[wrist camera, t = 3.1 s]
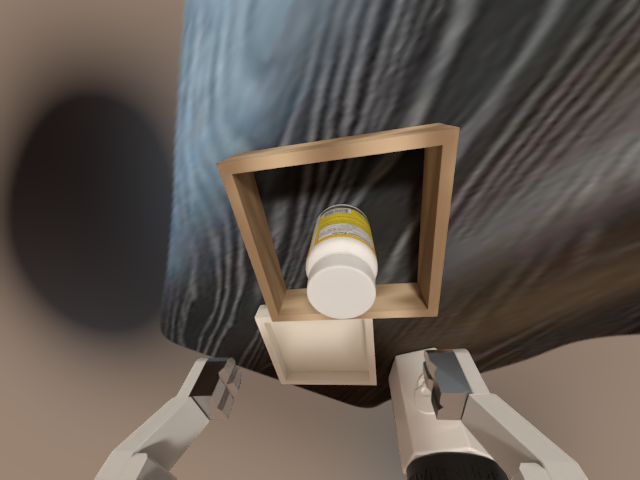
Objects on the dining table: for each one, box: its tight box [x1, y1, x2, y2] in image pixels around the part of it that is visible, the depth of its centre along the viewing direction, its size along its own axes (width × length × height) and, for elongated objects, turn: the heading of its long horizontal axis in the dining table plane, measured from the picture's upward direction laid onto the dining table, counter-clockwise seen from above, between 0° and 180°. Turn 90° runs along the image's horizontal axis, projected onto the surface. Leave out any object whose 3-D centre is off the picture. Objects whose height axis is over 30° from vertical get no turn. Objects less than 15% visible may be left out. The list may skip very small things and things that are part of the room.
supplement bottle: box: [306, 204, 378, 319], centre depth 17 cm, size 5×5×8 cm
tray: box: [255, 305, 377, 385], centre depth 28 cm, size 12×12×2 cm
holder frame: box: [217, 123, 459, 322], centre depth 19 cm, size 15×15×4 cm
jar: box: [388, 347, 509, 480], centre depth 24 cm, size 9×8×12 cm
